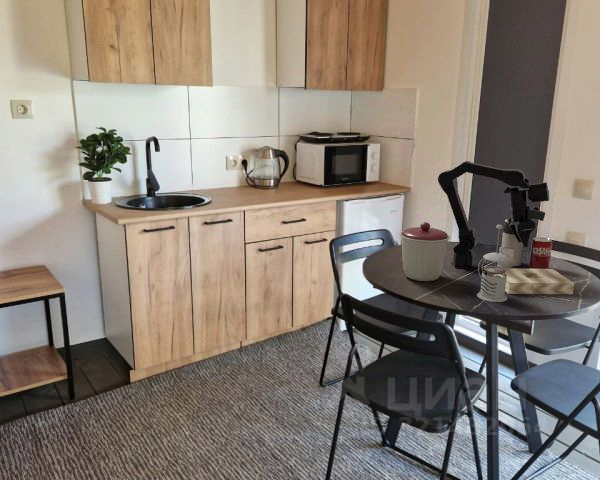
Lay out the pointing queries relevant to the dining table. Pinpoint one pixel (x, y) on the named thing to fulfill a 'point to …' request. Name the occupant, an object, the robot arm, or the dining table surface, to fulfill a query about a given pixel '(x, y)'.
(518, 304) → the dining table surface
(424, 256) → the canister
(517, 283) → the hole block
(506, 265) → the steel peg
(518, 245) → the travel mug
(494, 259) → the french press
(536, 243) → the soda can
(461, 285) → the dining table surface
